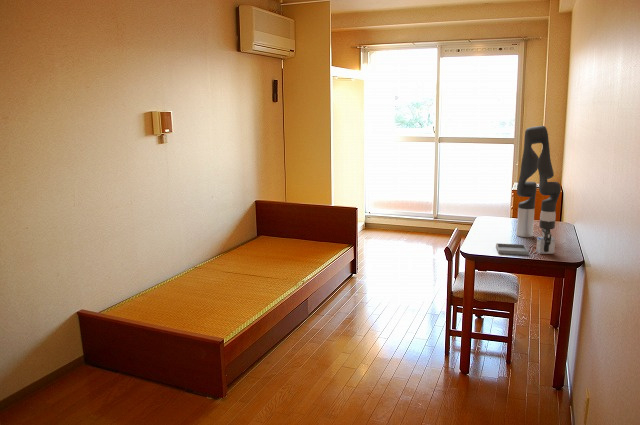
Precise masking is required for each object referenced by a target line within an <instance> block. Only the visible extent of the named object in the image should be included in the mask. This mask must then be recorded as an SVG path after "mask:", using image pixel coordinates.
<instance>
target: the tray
mask: <svg viewBox="0 0 640 425" xmlns="http://www.w3.org/2000/svg"><path fill="white" fill-rule="evenodd" d="M495 248H496V251H497V254H498V255H507V256H508V255H509V256H527V257H529V254H530V253H529V250H528V248H527V246H526V245H525V244H521V243H519V244H517V243H497V242H496V243H495Z"/></svg>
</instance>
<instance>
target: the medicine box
mask: <svg viewBox="0 0 640 425" xmlns="http://www.w3.org/2000/svg"><path fill="white" fill-rule="evenodd" d="M545 239H546V238H545ZM547 242H548V241H547ZM555 244H556V238H555V237H553V236H551V244H550V245H549V251H548V252H544V238H543V237H542V236H537V237H536V249H535V250H536V251H535V252H536V253H537V254H540V255H543V254H544V255H545V254H547V255H548V254H549V255H551V254H555V247H556V246H555Z"/></svg>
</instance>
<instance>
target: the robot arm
mask: <svg viewBox="0 0 640 425" xmlns="http://www.w3.org/2000/svg"><path fill="white" fill-rule="evenodd" d="M524 131H525V132H524V139H523V140H524V142H523V151H522V152H523V153H522V157H521V162H520V163H521V164H520V172H519V177H518V182H517V186H516V194H517V196H518V197H521V198H525V197H526V198H528V199H526V200H524V201H520V202H518V206H517V207H518V208H517V220H516V222H517V224H516V236H518V237H522V238H532V237H533V234H534V221H535V208H536V196H537V190H538V191H539V193H540V194H541V195H542V196H549V197H548V198H545V199H543V200H542V201H541V208H540V215H539V226H538V227H539V228H541V237H543V238H544V252H548V251H549V245H550V244H551V237H553V235H552V232H551V230H554V229H555V227H556V216H557V214H556V208H557V202H558V199H559V197H560V195H561V190H562V187H561V184H560V182H558V181H548V180H549V179H552V178H554V175H555V172H554V169H553V165H552V159H551V151H550V150H551V149H550V142H549V140H550V139H549V133H548V129H547V127H546V126H545V125H537V126H536V125H535V126H532V127H531V126H530V127H527V128H526V129H525V130H524ZM536 144H541V146H542V148H541V152H540V155H539V156H538V154H537V153H536V152H535V150H534V149H533V147H532V146H533V145H536ZM537 172H538V175H539V182H538V187H537V183H536V181H527V180H528V179H529V178H530V177H532V176H533V175H534V174H535V173H537ZM537 188H538V189H537ZM545 238H546V239H545ZM547 241H548V242H547Z"/></svg>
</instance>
